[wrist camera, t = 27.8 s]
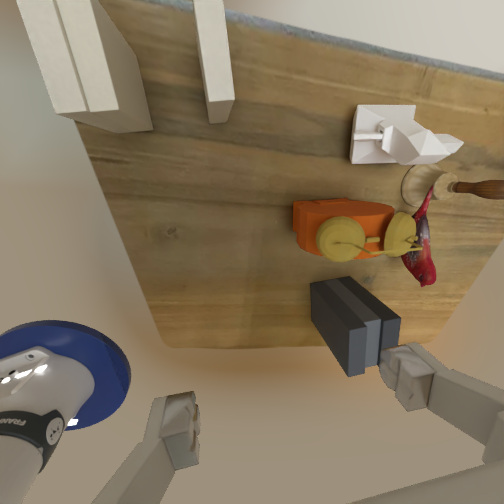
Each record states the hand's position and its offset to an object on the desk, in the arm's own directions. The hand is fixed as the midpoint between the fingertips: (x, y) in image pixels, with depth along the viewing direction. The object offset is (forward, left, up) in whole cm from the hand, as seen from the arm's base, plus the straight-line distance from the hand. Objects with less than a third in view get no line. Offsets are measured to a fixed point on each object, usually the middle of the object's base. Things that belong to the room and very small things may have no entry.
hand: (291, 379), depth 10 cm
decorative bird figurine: (+32, -7, -34) cm, 47 cm away
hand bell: (+36, +1, -34) cm, 50 cm away
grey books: (+18, -20, -34) cm, 43 cm away
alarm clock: (+16, -2, -34) cm, 38 cm away
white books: (-12, +19, -34) cm, 41 cm away
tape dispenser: (+25, +10, -34) cm, 44 cm away
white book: (0, +19, -34) cm, 39 cm away
